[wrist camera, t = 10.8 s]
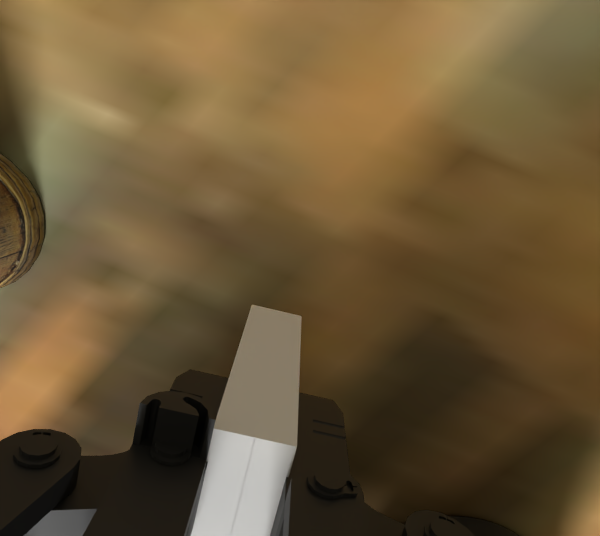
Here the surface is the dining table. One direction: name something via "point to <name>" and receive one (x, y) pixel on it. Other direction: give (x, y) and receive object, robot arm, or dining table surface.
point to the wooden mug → (18, 223)
